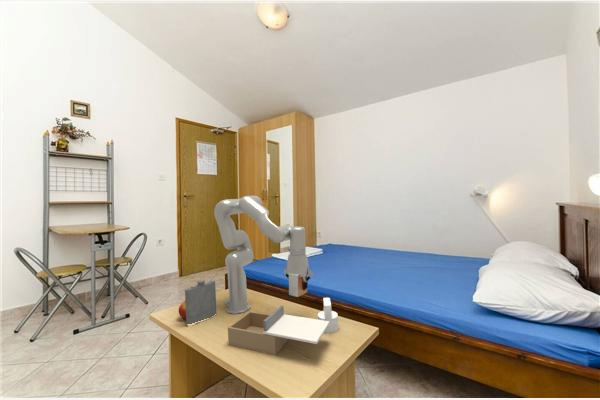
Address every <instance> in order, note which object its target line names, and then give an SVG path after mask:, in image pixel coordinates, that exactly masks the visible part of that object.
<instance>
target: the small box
mask: <svg viewBox="0 0 600 400" xmlns="http://www.w3.org/2000/svg"><path fill="white" fill-rule="evenodd" d="M303 282H304V280H303V277H300V275H299V274H290V273H289V280H288V295H289V296H292V297H296V298H299V297H301V296H303V295H305V294H308V288H307V289H306V290H303Z"/></svg>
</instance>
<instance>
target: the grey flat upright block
mask: <svg viewBox="0 0 600 400" xmlns="http://www.w3.org/2000/svg"><path fill="white" fill-rule="evenodd" d="M196 282H197V283H196V284H195V285H192V286H190V287H187V288H184V300H185V302H186V319H185V321H186V325H187V324H192V323H195V322H198V321H201V320H204V319H207V318H210V317H212V316H214V315H215V314H217V315H218V312H217V309H218V308H217V295H216V292H217V291H216V281H215V280H209V281H207V282H206V280H205V279H198V280H196ZM215 316H216V315H215ZM215 316H214V317H215ZM212 318H213V317H212ZM210 319H211V318H210Z"/></svg>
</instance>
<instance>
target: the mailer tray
mask: <svg viewBox="0 0 600 400" xmlns="http://www.w3.org/2000/svg"><path fill="white" fill-rule="evenodd" d="M269 315H271V314H269V313H262V312H255V311H252V310H251V311H247V313H246V314H244V315H243V316H241V317H240V318H239V319H237V320H236V321H234V322H233V323H232V324H230V325H229V326H228V327H227V339H228V345H230V346H233V347H238V348H243V349H247V350H252V351H257V352H260V353H265V354H270V355H277V354H278V353H279V351H280V350H281V349H282V348H283V346H284V345H285V344H286V343H287V341H289V339H288V338H283V337H278V336H272V335H267V334H263V331H264V325H263V321H264V320H265V319H266V318H267V317H268V316H269Z"/></svg>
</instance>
